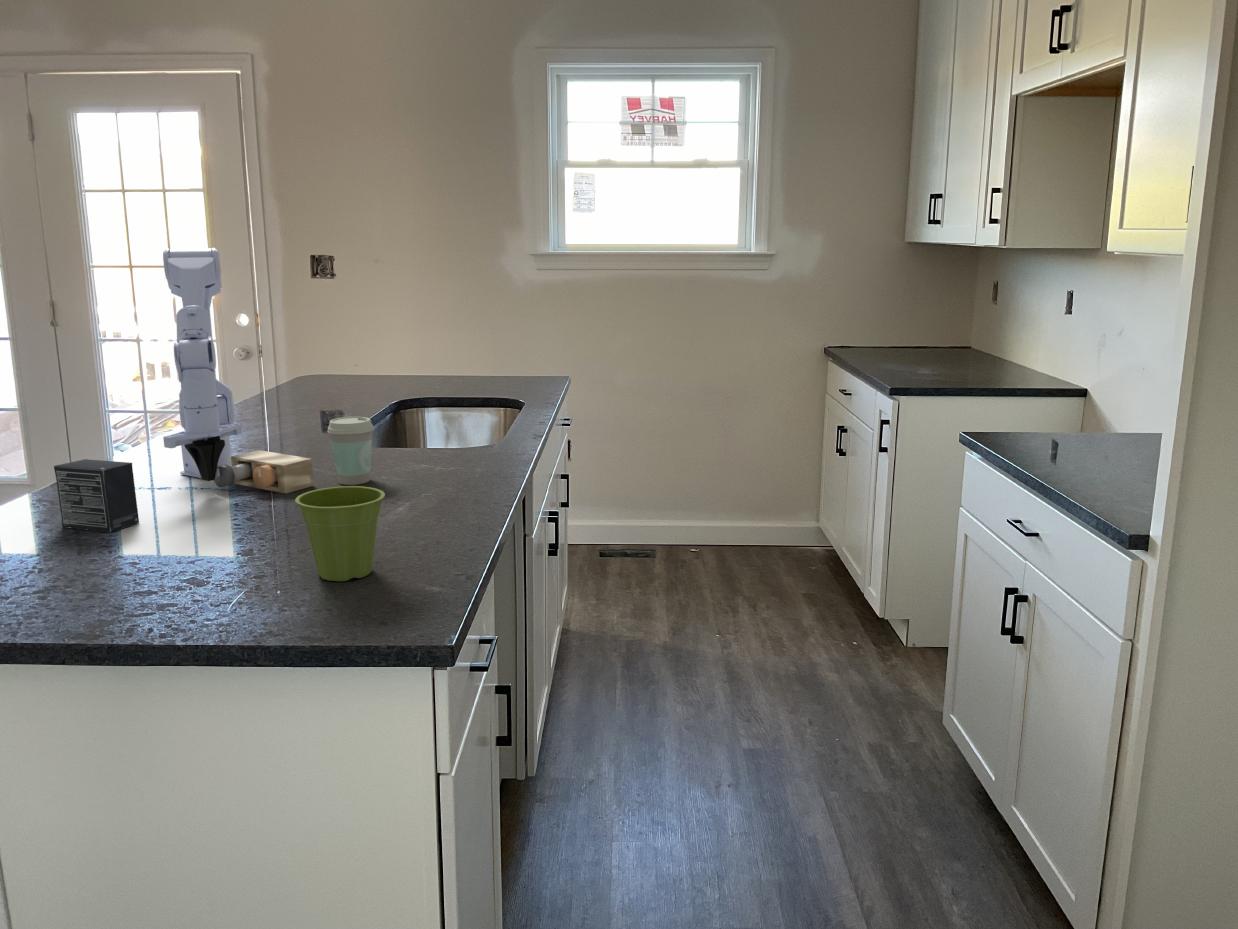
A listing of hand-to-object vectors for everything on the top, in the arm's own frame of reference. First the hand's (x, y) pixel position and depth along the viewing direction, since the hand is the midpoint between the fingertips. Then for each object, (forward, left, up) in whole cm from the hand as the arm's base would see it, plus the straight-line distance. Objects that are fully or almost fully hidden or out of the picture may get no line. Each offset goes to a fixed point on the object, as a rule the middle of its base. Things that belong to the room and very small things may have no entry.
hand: (208, 479), depth 177 cm
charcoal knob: (0, +6, -2) cm, 6 cm away
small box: (+1, -21, -3) cm, 21 cm away
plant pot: (+54, -17, -3) cm, 57 cm away
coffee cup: (+15, +21, -3) cm, 26 cm away
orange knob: (+7, +9, -2) cm, 12 cm away
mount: (+4, +11, -3) cm, 12 cm away
